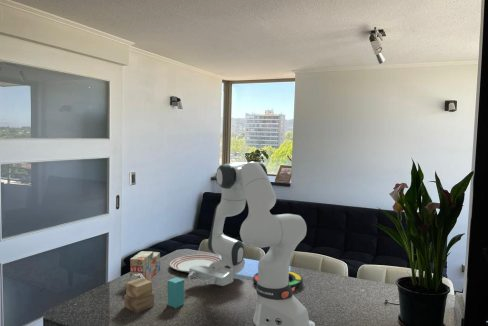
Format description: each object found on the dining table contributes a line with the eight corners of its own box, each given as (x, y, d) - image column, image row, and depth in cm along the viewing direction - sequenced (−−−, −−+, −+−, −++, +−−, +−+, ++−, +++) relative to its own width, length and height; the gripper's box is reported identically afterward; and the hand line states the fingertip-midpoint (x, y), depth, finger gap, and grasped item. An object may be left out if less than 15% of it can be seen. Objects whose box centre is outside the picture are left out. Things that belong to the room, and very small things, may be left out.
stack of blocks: (148, 269, 191) (148, 245, 190) (160, 270, 190) (160, 246, 190) (130, 285, 170) (130, 258, 169) (143, 286, 169) (143, 259, 168)
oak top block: (152, 294, 148) (152, 281, 148) (137, 299, 142) (137, 287, 142) (141, 289, 152) (141, 277, 152) (126, 295, 147) (126, 282, 146)
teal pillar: (183, 304, 150) (183, 279, 150) (175, 308, 147) (175, 283, 146) (176, 301, 153) (176, 277, 153) (167, 305, 149) (167, 280, 149)
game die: (132, 300, 162) (118, 282, 161) (145, 287, 169) (131, 270, 168) (143, 295, 157) (128, 276, 156) (156, 282, 164) (142, 264, 163)
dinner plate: (163, 276, 182) (163, 269, 182) (176, 258, 209) (176, 253, 209) (220, 277, 181) (220, 270, 181) (225, 260, 208) (225, 254, 208)
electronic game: (307, 279, 181) (307, 269, 180) (296, 297, 159) (296, 286, 159) (262, 272, 189) (262, 263, 189) (245, 289, 168) (245, 278, 167)
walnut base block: (154, 306, 149) (154, 293, 148) (137, 313, 142) (137, 300, 142) (141, 300, 153) (140, 288, 153) (124, 307, 147) (124, 295, 147)
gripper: (201, 259, 177) (180, 267, 166) (235, 269, 165) (215, 278, 153) (201, 272, 177) (179, 281, 166) (235, 283, 165) (214, 293, 154)
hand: (197, 280), depth 160 cm, fingers open, 8 cm apart
